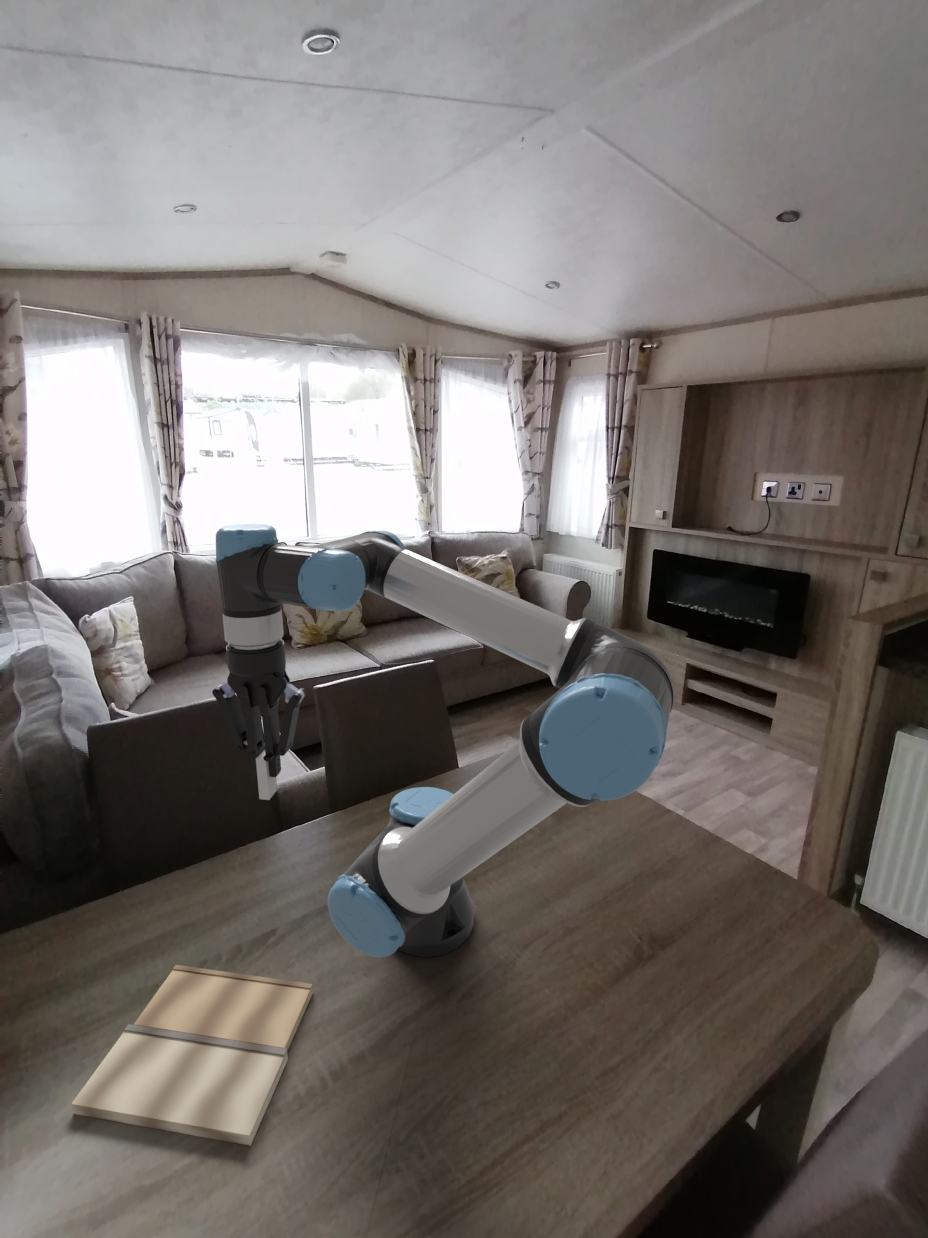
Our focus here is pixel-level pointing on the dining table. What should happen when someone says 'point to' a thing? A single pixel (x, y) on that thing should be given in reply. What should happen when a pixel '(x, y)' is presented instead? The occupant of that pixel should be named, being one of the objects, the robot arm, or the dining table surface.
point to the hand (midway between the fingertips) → (268, 794)
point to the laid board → (184, 1084)
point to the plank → (228, 1006)
